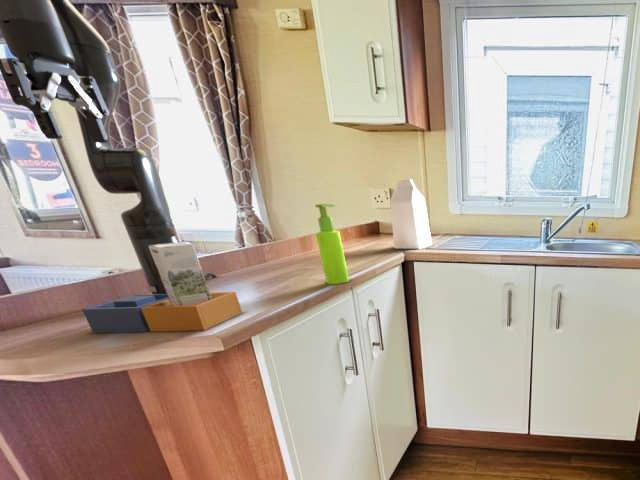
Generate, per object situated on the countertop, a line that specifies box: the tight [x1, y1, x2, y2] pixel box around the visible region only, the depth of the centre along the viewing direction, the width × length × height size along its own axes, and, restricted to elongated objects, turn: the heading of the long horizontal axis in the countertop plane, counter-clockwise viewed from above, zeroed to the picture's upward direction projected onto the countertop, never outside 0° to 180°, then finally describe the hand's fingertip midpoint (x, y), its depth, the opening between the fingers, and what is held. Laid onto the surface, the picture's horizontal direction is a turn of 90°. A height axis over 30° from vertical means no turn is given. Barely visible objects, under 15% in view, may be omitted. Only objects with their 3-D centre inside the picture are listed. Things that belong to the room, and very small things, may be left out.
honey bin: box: [141, 291, 243, 332], centre depth 84 cm, size 12×11×5 cm
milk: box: [389, 179, 433, 250], centre depth 177 cm, size 12×12×26 cm
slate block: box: [113, 295, 156, 308], centre depth 84 cm, size 4×4×4 cm
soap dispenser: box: [314, 203, 350, 285], centre depth 113 cm, size 6×7×20 cm
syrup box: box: [149, 241, 211, 306], centre depth 81 cm, size 6×6×14 cm
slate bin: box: [81, 293, 168, 334], centre depth 84 cm, size 12×11×5 cm
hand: (79, 140), depth 74 cm, fingers open, 8 cm apart
